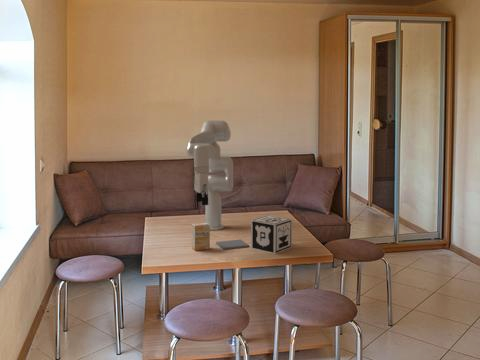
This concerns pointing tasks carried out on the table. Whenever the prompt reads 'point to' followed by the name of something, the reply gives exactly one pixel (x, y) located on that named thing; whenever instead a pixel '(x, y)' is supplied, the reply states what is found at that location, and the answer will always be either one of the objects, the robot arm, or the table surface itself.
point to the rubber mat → (232, 244)
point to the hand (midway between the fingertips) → (202, 203)
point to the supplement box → (201, 236)
